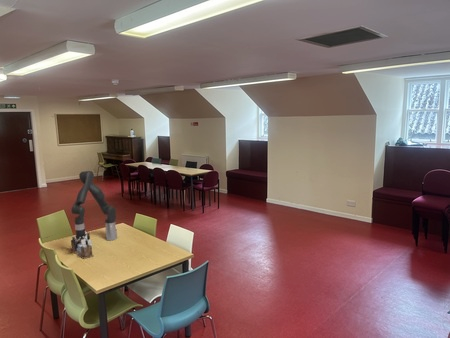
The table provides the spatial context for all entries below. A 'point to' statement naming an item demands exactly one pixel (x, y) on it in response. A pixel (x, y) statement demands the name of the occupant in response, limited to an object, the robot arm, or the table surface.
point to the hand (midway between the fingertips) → (81, 246)
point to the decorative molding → (85, 240)
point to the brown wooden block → (82, 250)
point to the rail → (80, 247)
